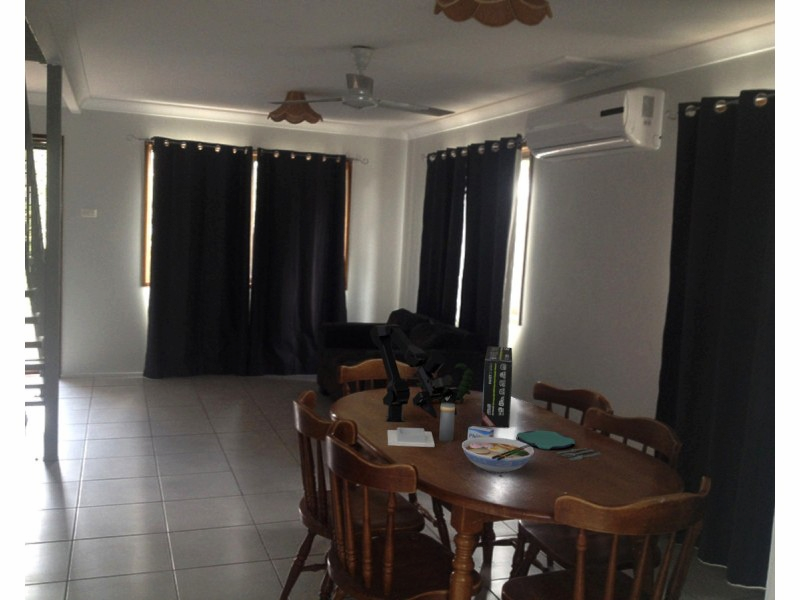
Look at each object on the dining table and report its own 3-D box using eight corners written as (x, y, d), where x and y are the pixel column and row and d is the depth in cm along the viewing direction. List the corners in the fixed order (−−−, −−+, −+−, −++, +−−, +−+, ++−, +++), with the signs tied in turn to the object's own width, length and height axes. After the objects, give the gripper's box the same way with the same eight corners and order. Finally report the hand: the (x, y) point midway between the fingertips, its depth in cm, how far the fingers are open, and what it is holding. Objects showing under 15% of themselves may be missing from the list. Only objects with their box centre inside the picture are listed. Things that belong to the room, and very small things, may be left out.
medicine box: (466, 452, 245) (467, 427, 244) (471, 449, 249) (472, 425, 248) (488, 457, 241) (489, 431, 241) (492, 453, 245) (494, 428, 245)
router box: (483, 405, 316) (486, 345, 313) (508, 407, 314) (512, 347, 312) (480, 426, 280) (484, 358, 278) (509, 429, 279) (513, 360, 277)
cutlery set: (547, 433, 276) (547, 427, 276) (606, 457, 250) (606, 450, 250) (506, 439, 266) (506, 432, 266) (563, 464, 240) (564, 457, 240)
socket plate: (387, 432, 265) (388, 423, 265) (431, 434, 266) (431, 425, 265) (388, 445, 249) (388, 435, 249) (434, 447, 250) (434, 437, 249)
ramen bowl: (487, 453, 245) (488, 430, 244) (547, 469, 231) (549, 444, 230) (443, 469, 226) (445, 444, 225) (507, 488, 211) (508, 461, 211)
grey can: (438, 437, 262) (440, 402, 261) (452, 437, 262) (454, 402, 261) (439, 441, 257) (441, 405, 256) (454, 441, 257) (456, 406, 256)
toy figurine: (463, 404, 324) (410, 399, 317) (469, 362, 323) (416, 357, 316) (471, 409, 315) (416, 405, 308) (477, 366, 314) (423, 361, 307)
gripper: (419, 369, 257) (437, 406, 249) (457, 366, 268) (477, 401, 260) (404, 387, 263) (422, 424, 256) (442, 383, 275) (461, 418, 267)
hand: (446, 416), depth 259 cm, fingers open, 9 cm apart
